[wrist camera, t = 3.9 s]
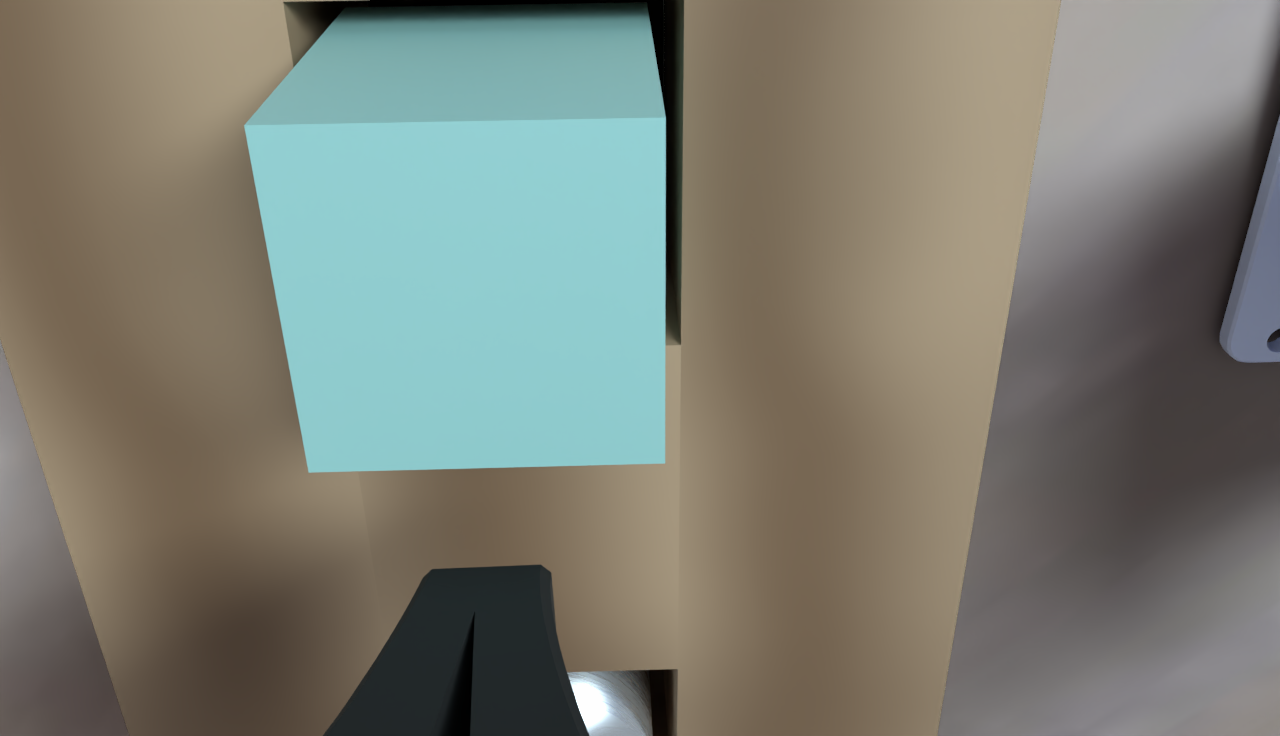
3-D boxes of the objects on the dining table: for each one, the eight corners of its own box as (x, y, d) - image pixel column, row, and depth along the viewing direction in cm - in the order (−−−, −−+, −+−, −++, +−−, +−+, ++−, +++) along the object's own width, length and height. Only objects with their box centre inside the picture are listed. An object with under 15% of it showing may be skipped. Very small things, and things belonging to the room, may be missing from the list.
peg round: (644, 513, 24) (654, 694, 19) (645, 657, 26) (655, 850, 21) (449, 519, 24) (415, 701, 19) (465, 663, 26) (438, 857, 21)
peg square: (646, 2, 15) (666, 116, 11) (648, 275, 17) (664, 462, 13) (344, 7, 15) (244, 125, 11) (381, 280, 17) (309, 472, 13)
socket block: (979, -303, 17) (1113, -308, 12) (853, 755, 28) (901, 949, 23) (6, -293, 16) (-207, -294, 12) (269, 772, 27) (206, 973, 23)
